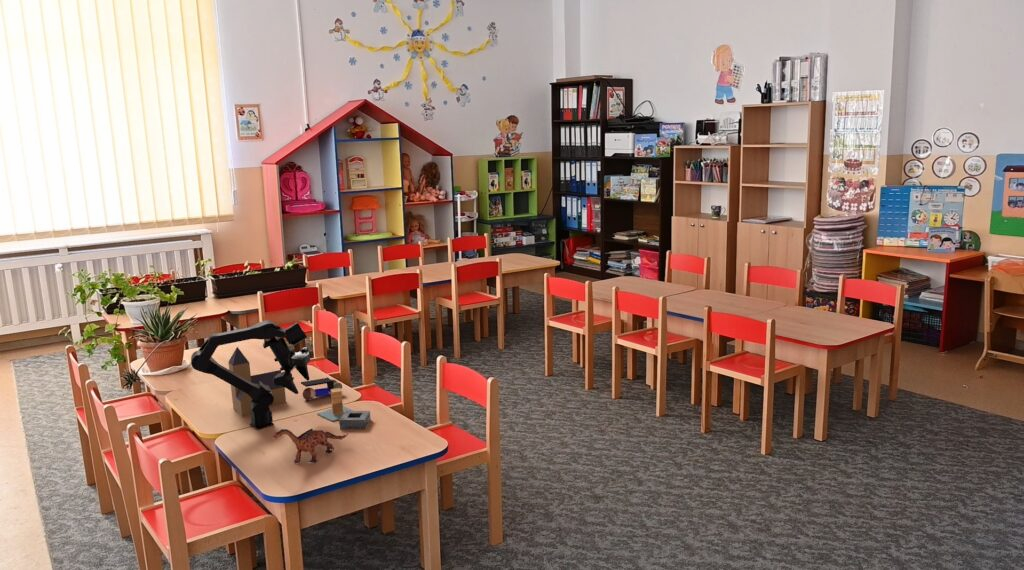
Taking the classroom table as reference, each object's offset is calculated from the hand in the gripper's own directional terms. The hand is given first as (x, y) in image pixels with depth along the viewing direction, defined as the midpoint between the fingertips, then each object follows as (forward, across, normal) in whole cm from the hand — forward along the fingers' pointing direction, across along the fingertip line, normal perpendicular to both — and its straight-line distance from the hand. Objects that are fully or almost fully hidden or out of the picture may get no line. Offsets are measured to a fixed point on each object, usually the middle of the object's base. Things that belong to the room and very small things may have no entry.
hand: (302, 386), depth 292 cm
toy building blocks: (+6, +5, +26) cm, 27 cm away
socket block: (+18, -6, -16) cm, 25 cm away
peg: (+16, +3, -5) cm, 17 cm away
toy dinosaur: (+10, -36, -17) cm, 41 cm away
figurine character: (+15, +19, +10) cm, 27 cm away
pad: (+16, +3, -5) cm, 17 cm away
